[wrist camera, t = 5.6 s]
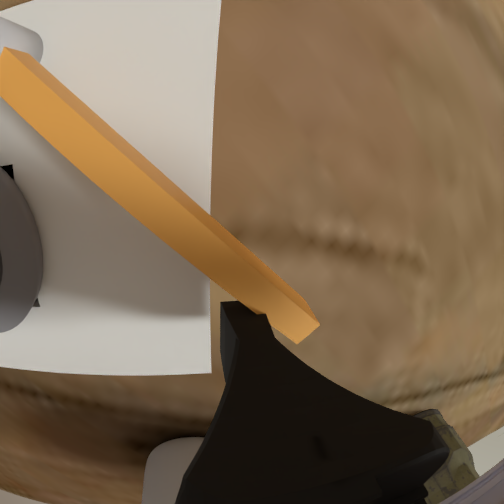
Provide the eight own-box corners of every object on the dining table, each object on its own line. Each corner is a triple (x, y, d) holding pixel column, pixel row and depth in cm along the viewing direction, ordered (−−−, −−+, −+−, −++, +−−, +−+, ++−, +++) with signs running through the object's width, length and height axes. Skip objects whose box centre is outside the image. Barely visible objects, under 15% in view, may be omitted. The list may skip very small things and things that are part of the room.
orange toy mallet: (267, 309, 11) (290, 363, 9) (-13, 67, 6) (-65, 63, 3) (305, 275, 11) (337, 323, 9) (22, 20, 6) (-24, 0, 3)
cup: (281, 401, 18) (323, 514, 11) (290, 455, 22) (320, 538, 14) (117, 432, 17) (114, 542, 10) (161, 479, 20) (169, 563, 13)
